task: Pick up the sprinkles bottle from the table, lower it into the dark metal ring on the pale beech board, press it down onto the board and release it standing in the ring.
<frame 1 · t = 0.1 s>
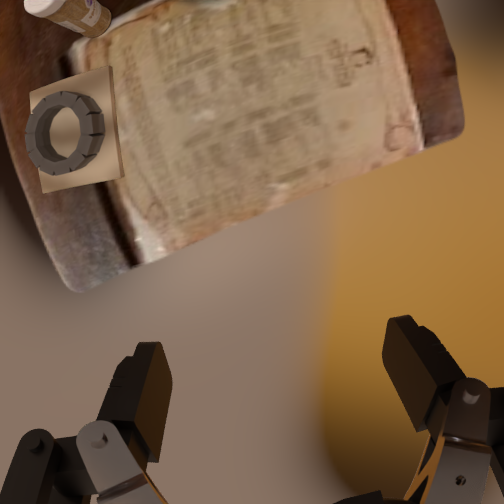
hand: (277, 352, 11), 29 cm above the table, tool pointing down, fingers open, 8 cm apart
ring holder: (74, 131, 34), on the table
sprinkles bottle: (96, 22, 28), on the table
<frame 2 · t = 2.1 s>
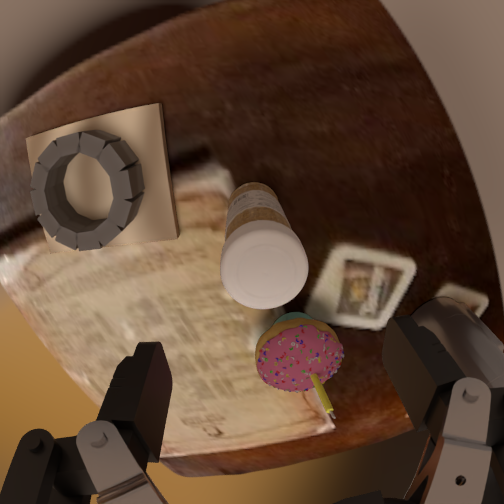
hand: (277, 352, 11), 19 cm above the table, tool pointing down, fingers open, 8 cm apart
ring holder: (99, 182, 27), on the table
sprinkles bottle: (253, 205, 29), on the table
cupcake: (292, 329, 34), on the table
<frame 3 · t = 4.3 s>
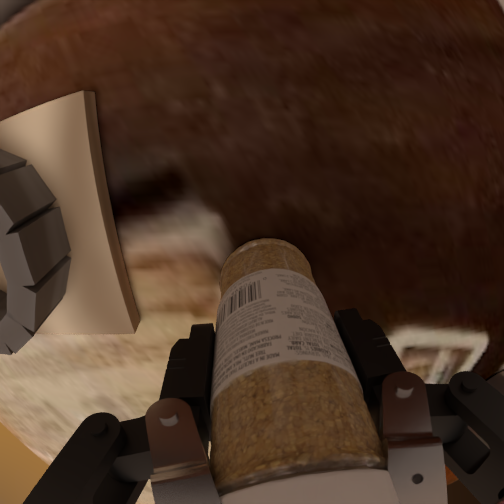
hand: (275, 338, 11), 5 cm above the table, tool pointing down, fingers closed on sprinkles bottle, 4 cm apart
ring holder: (11, 232, 14), on the table
sprinkles bottle: (265, 275, 16), on the table, touching gripper
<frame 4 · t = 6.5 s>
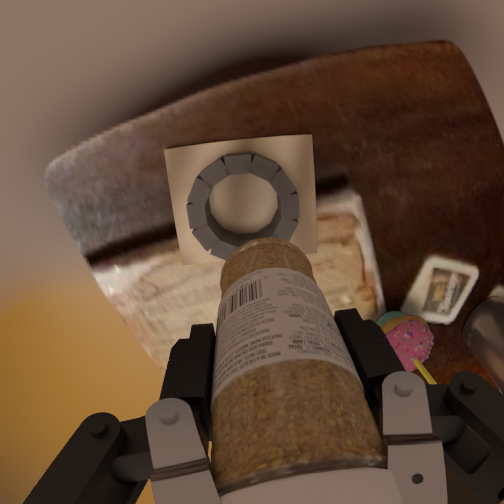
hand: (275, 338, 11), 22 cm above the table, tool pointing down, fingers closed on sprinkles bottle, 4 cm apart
ring holder: (243, 199, 32), on the table
sprinkles bottle: (266, 275, 16), point 17 cm above the table, touching gripper
cupcake: (388, 325, 39), on the table
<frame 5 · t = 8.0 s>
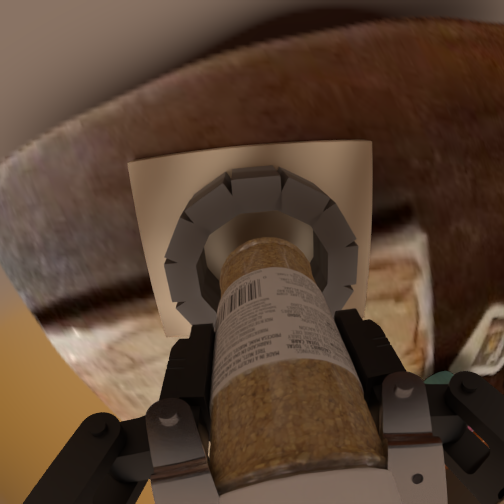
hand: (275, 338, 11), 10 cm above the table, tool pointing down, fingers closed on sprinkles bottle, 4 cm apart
ring holder: (258, 241, 20), on the table
sprinkles bottle: (266, 274, 16), point 5 cm above the table, touching gripper
when the fingers open (6 cm above the table, at t = 9.0 s): sprinkles bottle stays where it is, resting on ring holder.
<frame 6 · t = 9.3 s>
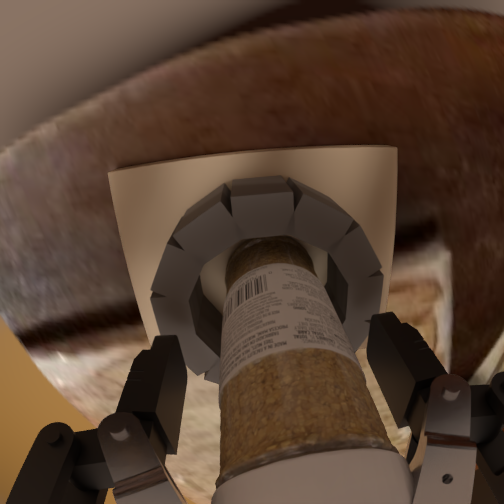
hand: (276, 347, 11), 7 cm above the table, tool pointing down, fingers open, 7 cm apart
ring holder: (262, 263, 17), on the table
sprinkles bottle: (269, 271, 16), point 1 cm above the table, touching ring holder
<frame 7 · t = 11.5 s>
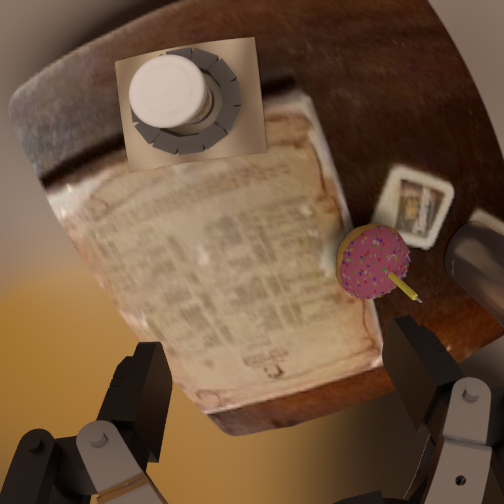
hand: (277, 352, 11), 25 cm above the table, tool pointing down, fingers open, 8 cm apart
ring holder: (190, 102, 29), on the table
sprinkles bottle: (192, 102, 28), point 1 cm above the table, touching ring holder
cupcake: (358, 246, 37), on the table
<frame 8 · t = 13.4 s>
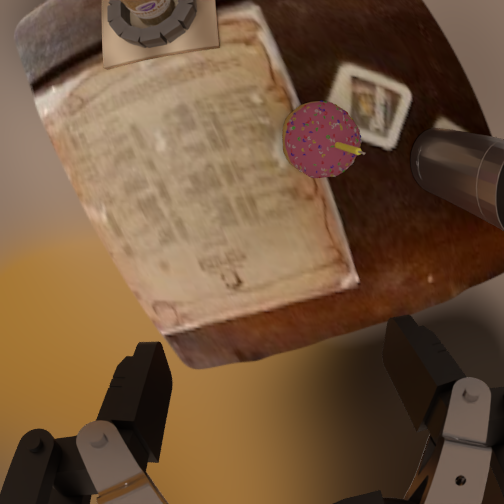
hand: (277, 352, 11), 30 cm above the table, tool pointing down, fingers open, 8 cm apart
ring holder: (158, 14, 29), on the table
sprinkles bottle: (158, 11, 28), point 1 cm above the table, touching ring holder
cupcake: (312, 137, 37), on the table
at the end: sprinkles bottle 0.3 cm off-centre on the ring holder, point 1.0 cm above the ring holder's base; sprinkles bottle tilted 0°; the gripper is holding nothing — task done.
